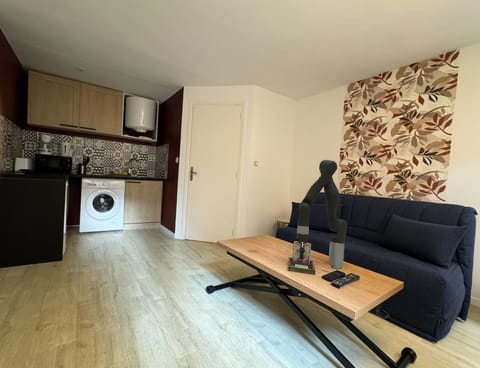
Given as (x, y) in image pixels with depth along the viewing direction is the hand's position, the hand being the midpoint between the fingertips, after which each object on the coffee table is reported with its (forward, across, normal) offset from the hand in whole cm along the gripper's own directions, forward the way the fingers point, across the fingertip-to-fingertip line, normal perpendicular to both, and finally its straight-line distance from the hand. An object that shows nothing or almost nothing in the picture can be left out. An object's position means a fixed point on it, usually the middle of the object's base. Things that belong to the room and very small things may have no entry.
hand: (301, 257), depth 154 cm
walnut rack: (+6, +5, 0) cm, 8 cm away
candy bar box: (+7, 0, 0) cm, 7 cm away
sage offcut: (+5, +9, 0) cm, 10 cm away
